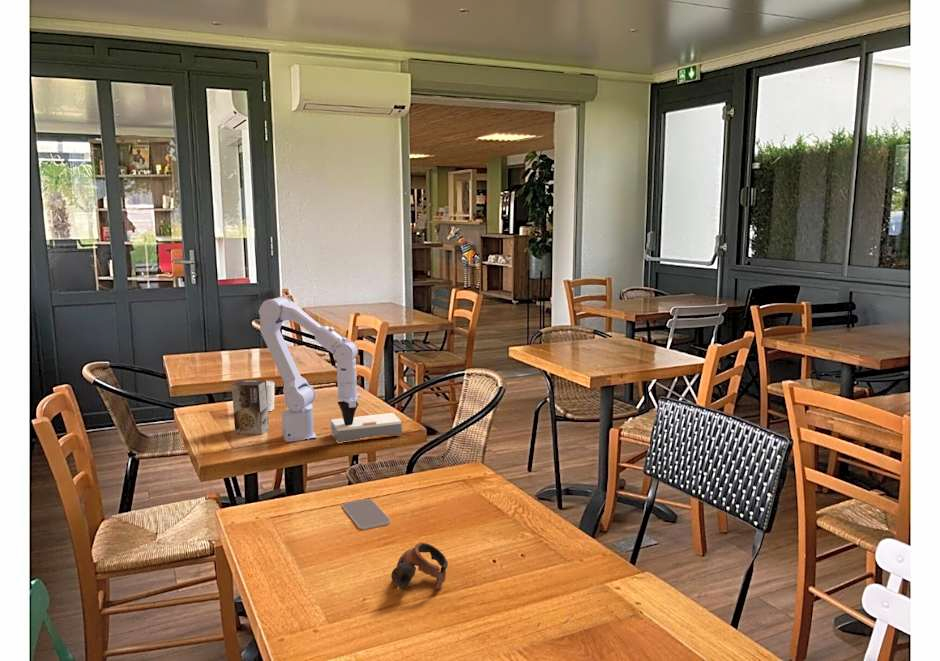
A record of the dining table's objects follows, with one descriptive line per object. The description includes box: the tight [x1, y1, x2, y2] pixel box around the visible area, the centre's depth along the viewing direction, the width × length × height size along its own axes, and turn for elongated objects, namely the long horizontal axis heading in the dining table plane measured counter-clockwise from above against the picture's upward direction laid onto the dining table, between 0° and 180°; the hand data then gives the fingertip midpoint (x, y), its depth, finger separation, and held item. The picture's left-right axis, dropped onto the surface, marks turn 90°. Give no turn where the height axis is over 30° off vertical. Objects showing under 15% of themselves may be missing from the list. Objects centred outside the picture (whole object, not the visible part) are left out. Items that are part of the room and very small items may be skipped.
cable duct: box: [330, 421, 403, 442], centre depth 221 cm, size 20×10×4 cm, turn 112°
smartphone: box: [341, 498, 392, 531], centre depth 163 cm, size 7×1×15 cm
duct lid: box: [330, 412, 403, 431], centre depth 220 cm, size 20×10×1 cm, turn 112°
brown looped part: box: [390, 542, 449, 591], centre depth 131 cm, size 12×10×8 cm
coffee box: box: [231, 379, 270, 435], centre depth 224 cm, size 9×6×16 cm
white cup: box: [266, 380, 275, 412], centre depth 248 cm, size 8×8×10 cm
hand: (348, 424), depth 216 cm, fingers closed, pressing on duct lid
